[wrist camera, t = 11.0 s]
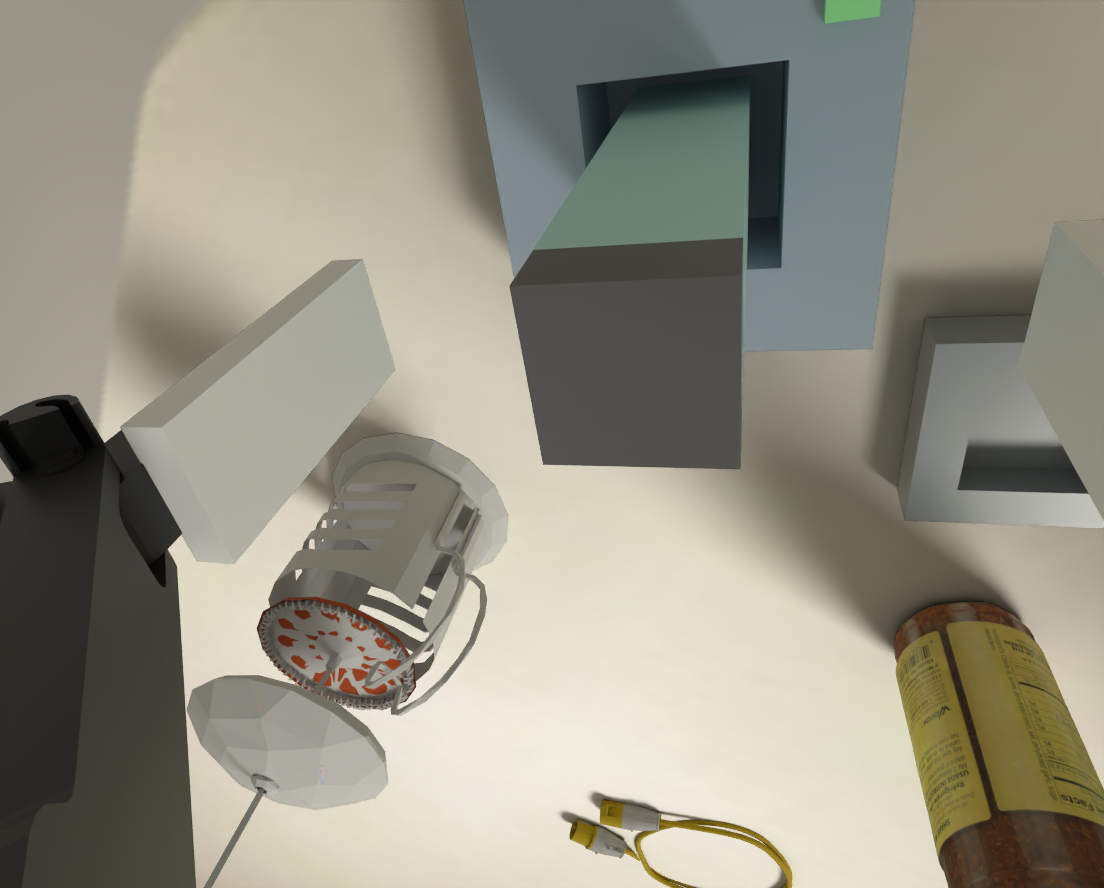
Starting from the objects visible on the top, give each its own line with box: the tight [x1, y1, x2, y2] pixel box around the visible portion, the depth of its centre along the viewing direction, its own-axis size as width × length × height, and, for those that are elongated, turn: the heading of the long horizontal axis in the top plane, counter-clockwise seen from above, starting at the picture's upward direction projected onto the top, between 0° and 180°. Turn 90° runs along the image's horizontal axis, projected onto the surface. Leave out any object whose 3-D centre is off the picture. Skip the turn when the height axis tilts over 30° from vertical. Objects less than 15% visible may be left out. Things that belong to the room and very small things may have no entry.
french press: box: [187, 433, 508, 888], centre depth 28 cm, size 10×12×25 cm
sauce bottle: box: [894, 602, 1104, 888], centre depth 27 cm, size 7×6×20 cm
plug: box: [510, 75, 751, 469], centre depth 18 cm, size 4×4×16 cm
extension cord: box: [570, 800, 792, 888], centre depth 52 cm, size 12×16×2 cm
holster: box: [897, 315, 1104, 528], centre depth 27 cm, size 8×8×2 cm
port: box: [463, 0, 915, 351], centre depth 22 cm, size 11×11×5 cm
